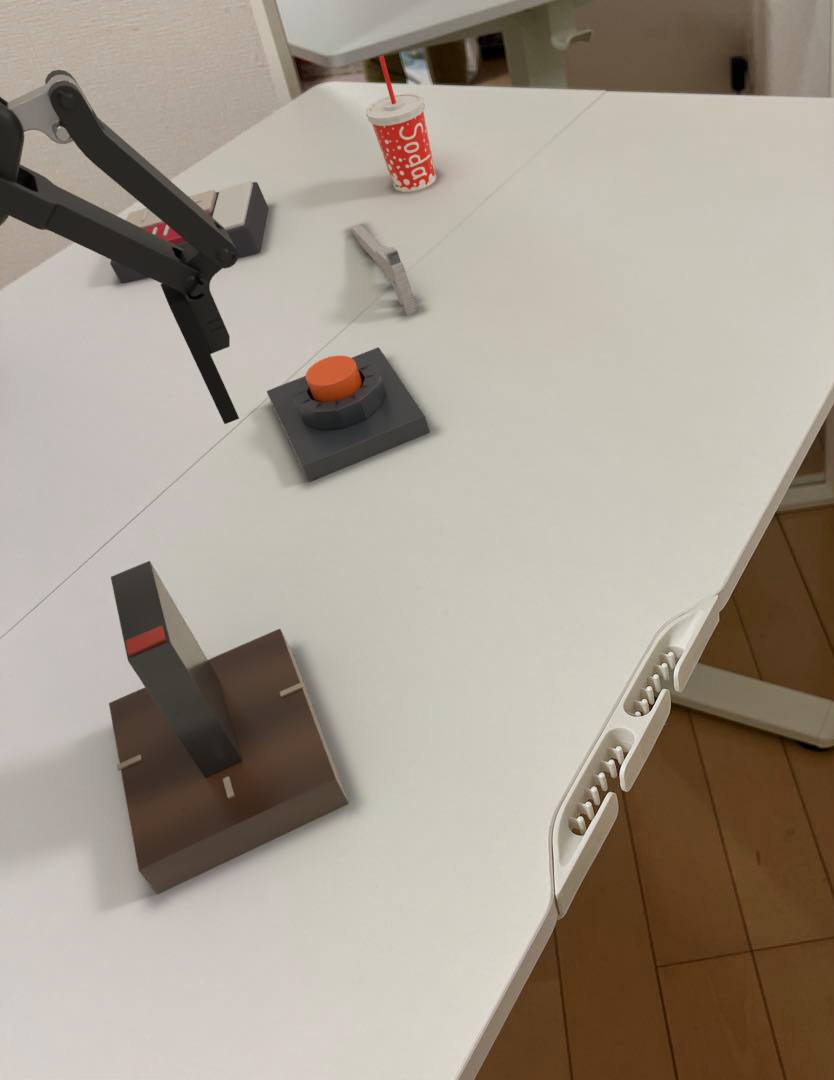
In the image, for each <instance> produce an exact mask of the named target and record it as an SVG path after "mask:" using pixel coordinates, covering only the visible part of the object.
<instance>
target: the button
mask: <svg viewBox="0 0 834 1080" xmlns="http://www.w3.org/2000/svg"><path fill="white" fill-rule="evenodd" d="M305 376H306V380H307V383H308V385H309V388H310V390H311V393H312V396H313V398H314V399H315V400H316V401H318V402H321V403H323V402H334V401H339V400H341V399H344V398H346V397H349V396H351V395H352V394H353V393H355V392H356V391H357V390H358V389H359V388H360V387H361V385H362V380H361V377H360V374H359V371H358V368H357V366H356V363H355V361H354V360H353V359H352V357H350V356H348V355H332V356H328V357H325V358H322V359H319V360H318V361H317V362H314V364H312V365H311V366H310V367H309V368H308V370H307V371H306V373H305Z"/></svg>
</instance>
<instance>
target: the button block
mask: <svg viewBox="0 0 834 1080" xmlns="http://www.w3.org/2000/svg"><path fill="white" fill-rule="evenodd" d="M351 358H352V359H353V360H354V361H355V363H356V366H357V368H358V371H359V374H360V377H361V380H362V385H361V387H360V388H359V389H358V390H357V391H356V392H355V393H353V394H352V395H351V396H349V397H346V398H344V399H341V400H339V401H334V402H323V403H321V402H318V401H316V400H315V399H314V398H313V396H312V393H311V390H310V388H309V385H308V383H307V380H306V375H304V376H300V377H298V378H296V379H294V380H291V381H288V382H286V383H283V384H281V385H278V386H276V387H273V388H271V389H268V390H266V393H267V396H268V399H269V401H270V403H271V405H272V408H273V410H274V412H275V414H276V416H277V418H278V421H279V423H280V424H281V427H282V429H283V431H284V433H285V435H286V438H287V440H288V442H289V444H290V446H291V448H292V450H293V452H294V454H295V457H296V458H297V461H298V463H299V465H300V467H301V469H302V471H303V473H304V475H305V477H306V480H307V482H308V483H311V482H314V481H316V480H319V479H322V478H323V477H326V476H329V475H331V474H333V473H335V472H338V471H341V470H344V469H345V468H348V467H350V466H352V465H355V464H357V463H360V462H362V461H366V460H367V459H370V458H373V457H375V456H377V455H379V454H381V453H384V452H386V451H390V450H391V449H394V448H397V447H399V446H401V445H404V444H406V443H409V442H411V441H414V440H416V439H419V438H421V437H423V436H425V435H428V434H430V433H431V430H430V427H429V424H428V420H427V418H426V416H425V413H424V412H423V410H422V409H421V408H420V406H419V405H418V403H417V402H416V401H415V399H414V398H413V396H412V394H411V393H410V391H409V390H408V389H407V387H406V386H405V383H403V381H402V379H401V378H400V377H399V375H398V373H397V372H396V371H395V369H394V367H393V366H392V364H391V363H390V362H389V360H388V359H387V357H386V355H385V354H384V353H383V351H382V350H381V348H380V347H375V348H373V349H370V350H367V351H365V352H362V353H360V354H357V355H355V356H352V357H351Z"/></svg>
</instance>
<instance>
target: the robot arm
mask: <svg viewBox="0 0 834 1080" xmlns="http://www.w3.org/2000/svg"><path fill="white" fill-rule="evenodd" d="M28 131H38V132H41V133H43V134H45V135H46V137H48V138H49V139H50V140H51V141H52V142H54V143H56V144H60V145H67V144H70V143H72V142H73V143H74V144H75V146H77V148H78V149H79V150H80V152H82V154H83V155H84V156H85V157H86V158H87V159H88V160H89V161H90V162H92V164H94V165H95V166H96V167H97V168H98V169H100V170H101V171H102V172H103V173H104V174H106V175H107V176H108V177H109V178H110V179H112V181H114V182H115V183H116V184H118V186H120V187H121V188H122V189H124V191H126V193H128V194H129V195H130V196H132V197H133V198H134V199H135V200H136V201H138V202H139V203H140V204H141V205H143V206H144V207H145V208H147V209H149V210H150V211H151V212H152V213H153V214H155V215H156V216H157V217H158V218H159V219H161V220H162V221H163V222H164V223H165V224H167V225H168V226H169V227H170V228H171V229H173V230H174V231H175V232H176V233H177V234H179V235H180V236H181V237H182V238H183V239H185V240H186V241H187V242H188V243H189V244H190V245H189V246H187V247H186V248H185V249H182V248H180V247H178V246H176V245H174V244H172V243H170V242H168V241H166V240H164V239H162V238H160V237H158V236H156V235H154V234H152V233H150V232H148V231H146V230H144V229H142V228H140V227H138V226H136V225H134V224H132V223H130V222H128V221H126V219H124V218H122V217H121V216H118V215H116V214H114V213H113V212H110V211H108V210H106V209H104V208H102V207H100V206H97V205H96V204H94V203H93V202H90V201H88V200H86V199H84V198H82V197H80V196H78V195H76V194H74V193H72V192H70V191H68V190H66V189H64V188H62V187H60V186H58V185H56V184H55V183H53V182H52V181H51V180H50V179H48V178H47V177H45V175H42V174H40V173H38V172H36V171H34V170H33V169H31V168H28V167H26V166H24V165H22V164H21V159H22V155H23V149H24V145H25V132H28ZM188 196H189V195H188V194H186V193H185V192H184V191H183V190H182V189H180V188H179V187H178V186H177V185H176V184H175V183H174V182H173V181H171V180H170V179H169V178H168V177H167V176H166V175H164V173H162V172H161V171H160V170H159V169H157V168H156V166H154V165H153V164H152V163H151V162H150V161H148V160H147V158H145V157H144V156H143V155H142V154H141V153H139V152H138V151H137V150H136V149H134V147H132V146H131V145H130V144H129V143H128V142H127V141H125V139H123V138H122V137H121V136H120V135H119V134H117V133H116V131H114V130H113V129H111V127H109V125H108V124H106V123H105V122H103V121H102V120H101V119H100V118H99V117H98V116H97V114H96V112H95V110H94V109H93V107H92V104H90V102H89V101H88V98H87V97H86V95H85V93H84V92H83V90H82V88H81V87H80V85H79V84H78V82H77V80H76V79H75V78H74V75H72V74H71V73H70V72H68V71H66V70H62V69H56V70H52V71H50V72H49V73H48V74H47V76H46V77H45V80H44V85H41V86H39V87H38V88H35V89H33V90H31V91H30V92H27V93H25V94H22V95H20V96H18V97H16V98H14V99H12V100H9V101H7V100H5V98H3V97H1V96H0V227H1V226H3V224H4V223H5V222H6V221H7V220H8V218H9V217H12V218H13V219H16V220H18V221H19V222H22V223H24V224H26V225H28V226H30V227H33V228H35V229H38V230H41V231H49V232H52V233H53V234H56V235H58V236H60V237H62V238H64V239H67V240H69V241H71V242H73V243H75V244H77V245H79V246H81V247H83V248H85V249H88V250H90V251H92V252H94V253H96V254H97V255H101V256H103V257H105V258H107V259H109V260H110V261H111V260H113V261H115V262H117V263H120V264H122V265H124V266H126V267H128V268H130V269H132V270H134V271H137V272H139V273H141V274H143V275H145V276H147V277H149V278H148V279H151V280H153V281H156V282H158V283H160V288H161V290H162V291H163V294H164V296H165V300H166V302H167V304H168V306H169V309H170V312H171V313H172V315H173V317H174V320H175V322H176V324H177V326H178V328H179V330H180V332H181V335H182V337H183V339H184V341H185V343H186V345H187V347H188V349H189V351H190V354H191V356H192V358H193V360H194V362H195V364H196V366H197V368H198V371H199V373H200V375H201V377H202V379H203V381H204V383H205V386H206V388H207V390H208V393H209V394H210V397H211V399H212V400H213V403H214V405H215V407H216V409H217V411H218V413H219V415H220V417H221V420H222V422H223V424H224V425H226V424H229V423H231V422H234V421H237V420H239V419H240V416H239V414H238V412H237V410H236V407H235V406H234V403H233V401H232V399H231V397H230V394H229V392H228V389H227V388H226V385H225V383H224V381H223V378H222V377H221V375H220V373H219V370H218V368H217V365H216V363H215V361H214V359H213V357H212V354H215V353H218V352H220V351H222V350H224V349H228V348H229V347H230V345H231V344H230V342H231V341H230V340H231V339H230V337H231V336H230V334H229V332H228V330H227V327H226V325H225V322H224V320H223V318H222V314H221V313H220V311H219V308H218V306H217V304H216V302H215V299H214V296H213V294H212V293H211V288H210V287H211V286H210V285H211V281H212V279H213V277H215V275H216V274H218V273H219V272H220V271H221V270H222V269H228V268H231V267H233V266H235V264H236V263H237V261H238V259H239V258H238V252H237V249H236V247H235V246H234V244H233V242H232V240H231V239H230V237H229V235H228V233H227V232H226V230H225V229H224V227H223V226H222V225H220V224H219V223H218V222H217V221H216V220H215V219H214V218H212V217H211V216H210V215H209V214H208V213H207V212H206V211H204V210H203V209H202V208H201V207H200V206H199V205H198V204H196V203H195V202H194V201H193V200H192V199H191V198H189V197H188Z"/></svg>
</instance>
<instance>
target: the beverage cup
mask: <svg viewBox="0 0 834 1080" xmlns="http://www.w3.org/2000/svg"><path fill="white" fill-rule="evenodd" d="M378 58H379V63H380V66H381V70H382V74H383V77H384V80H385V81H384V82H385V85H386V88H387V91H388V95H387V96H385V97H382V98H379V99H378V100H376V101H374V102H372V103H371V104H370V105H369V106H368V107H367V108H366V111H365V116H366V117H367V121H368V122H369V123H370V124H371V126H372V128H373V132H374V134H375V137H376V139H377V143H378V146H379V148H380V151H381V153H382V157H383V160H384V162H385V166H386V168H387V171H388V174H389V177H390V180H391V182H392V185H393V188H394V190H396V191H399V192H402V193H410V192H416V191H420V190H422V189H426V188H428V187H429V186H431V185H432V184H433V183H434V182H435V181H436V179H437V178H436V177H437V175H436V170H435V165H434V159H433V153H432V149H431V143H430V138H429V132H428V127H427V123H426V116H425V112H424V111H425V107H426V106H425V103H424V102H425V101H424V100H425V99H424V97H423V96H422V95H421V94H419V93H414V92H403V93H397V94H395V93H394V90H393V89H394V88H393V86H392V82H391V79H390V74H389V71H388V67H387V64H386V60H385V56H384V54H380V55H379V56H378Z"/></svg>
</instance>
